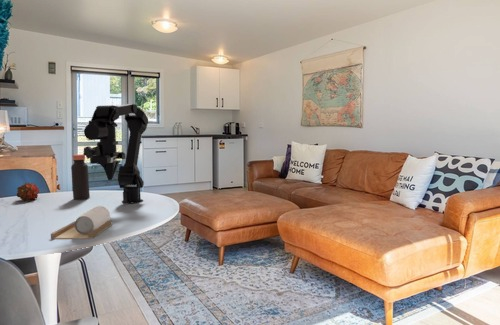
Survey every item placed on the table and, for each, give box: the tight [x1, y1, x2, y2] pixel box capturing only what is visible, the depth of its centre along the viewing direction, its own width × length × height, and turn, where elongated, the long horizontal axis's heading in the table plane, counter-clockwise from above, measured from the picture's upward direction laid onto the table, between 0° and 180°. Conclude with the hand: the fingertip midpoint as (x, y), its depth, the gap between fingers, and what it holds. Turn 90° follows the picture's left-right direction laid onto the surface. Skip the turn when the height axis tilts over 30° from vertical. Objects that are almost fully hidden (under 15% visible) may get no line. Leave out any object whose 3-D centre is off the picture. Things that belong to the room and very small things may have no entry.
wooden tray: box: [50, 220, 113, 240], centre depth 111 cm, size 14×12×2 cm
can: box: [75, 205, 111, 235], centre depth 112 cm, size 6×6×12 cm
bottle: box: [70, 154, 91, 201], centre depth 162 cm, size 7×7×20 cm
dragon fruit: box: [16, 182, 40, 202], centre depth 162 cm, size 8×8×12 cm
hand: (110, 179), depth 137 cm, fingers closed
